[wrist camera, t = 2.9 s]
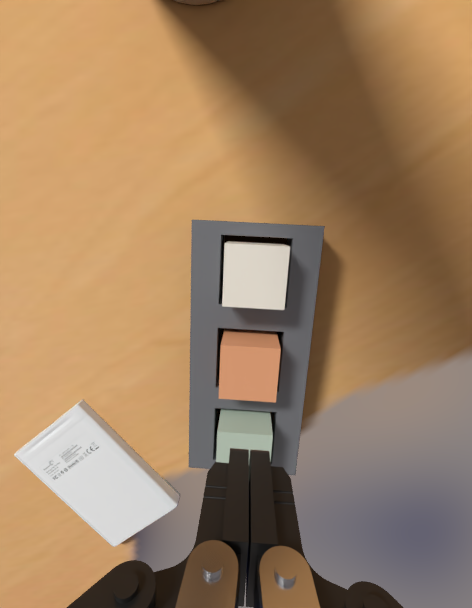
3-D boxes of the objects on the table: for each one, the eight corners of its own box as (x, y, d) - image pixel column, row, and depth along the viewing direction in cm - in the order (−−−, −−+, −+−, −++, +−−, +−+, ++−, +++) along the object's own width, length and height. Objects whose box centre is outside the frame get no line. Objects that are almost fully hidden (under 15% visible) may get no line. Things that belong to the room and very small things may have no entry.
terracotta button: (225, 327, 21) (220, 345, 18) (275, 330, 21) (280, 348, 18) (223, 373, 22) (218, 398, 19) (271, 376, 22) (275, 402, 19)
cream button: (228, 240, 20) (224, 243, 17) (283, 243, 20) (290, 246, 16) (226, 294, 21) (222, 306, 17) (278, 296, 21) (284, 310, 17)
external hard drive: (119, 531, 29) (24, 444, 27) (181, 491, 28) (86, 395, 26) (111, 549, 28) (10, 457, 26) (177, 507, 26) (75, 406, 24)
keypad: (199, 220, 21) (191, 219, 18) (314, 226, 21) (324, 226, 18) (195, 440, 26) (188, 467, 23) (290, 446, 25) (295, 475, 22)
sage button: (221, 402, 23) (217, 431, 20) (269, 405, 23) (272, 435, 19) (220, 442, 24) (215, 477, 20) (265, 446, 24) (268, 481, 20)
